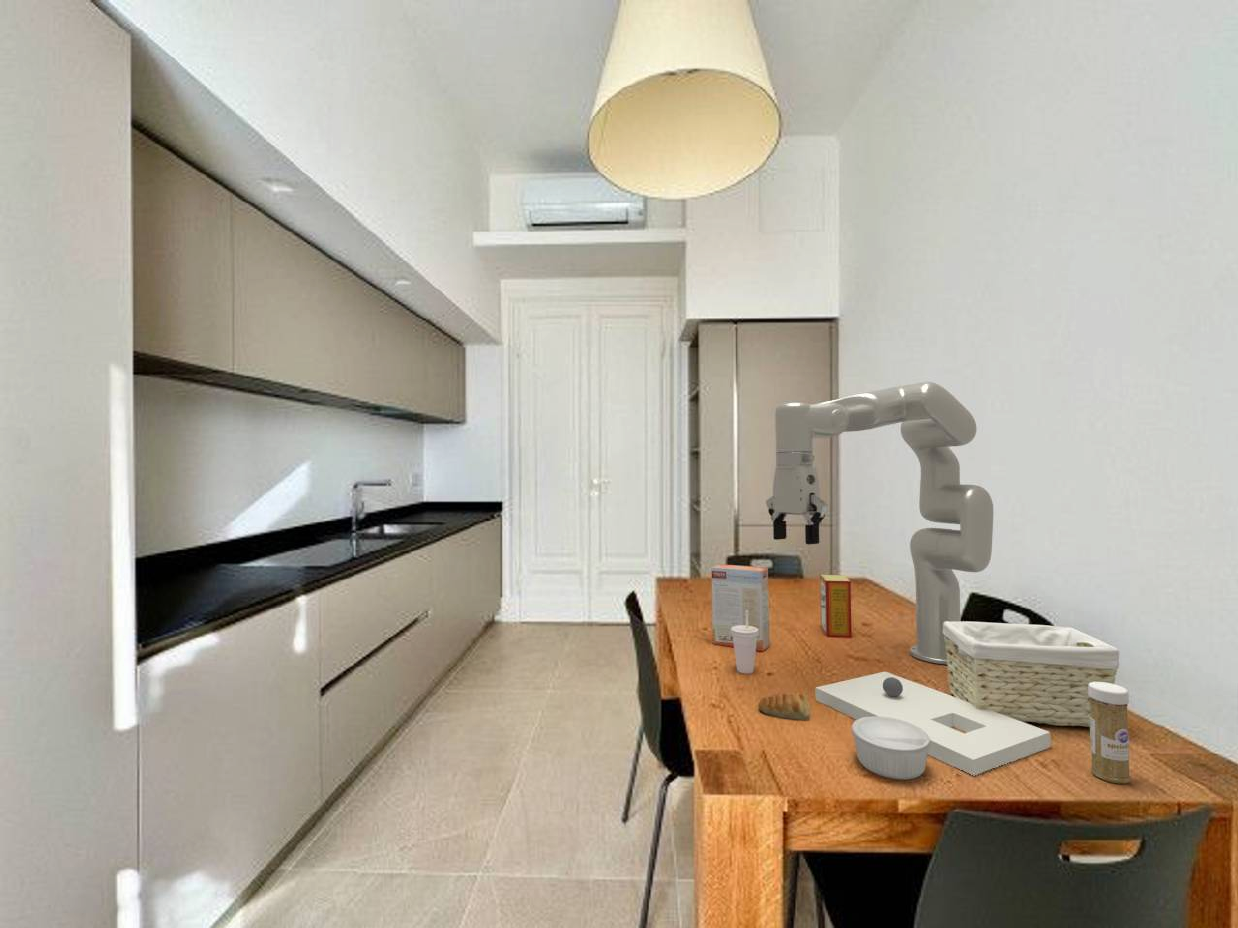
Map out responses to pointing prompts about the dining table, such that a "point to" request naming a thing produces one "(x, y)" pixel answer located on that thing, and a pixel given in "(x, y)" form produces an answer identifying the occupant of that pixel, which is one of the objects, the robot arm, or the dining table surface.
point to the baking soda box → (835, 606)
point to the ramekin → (891, 747)
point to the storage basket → (1027, 669)
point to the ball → (892, 687)
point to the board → (940, 721)
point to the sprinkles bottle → (1109, 731)
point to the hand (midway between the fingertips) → (795, 541)
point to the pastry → (786, 706)
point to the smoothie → (745, 646)
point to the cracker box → (740, 602)
